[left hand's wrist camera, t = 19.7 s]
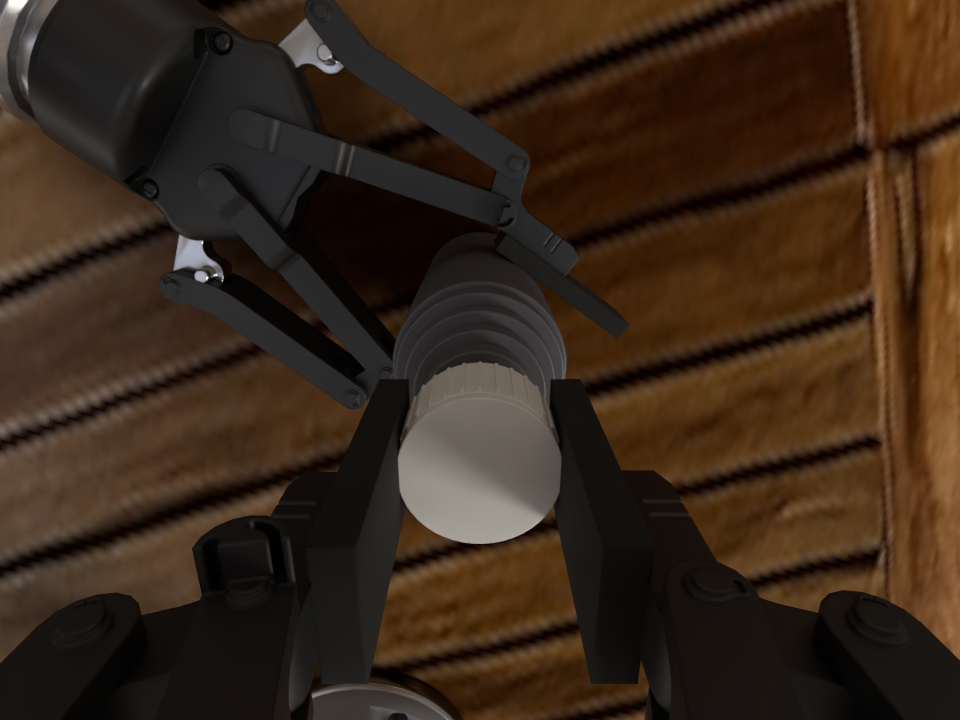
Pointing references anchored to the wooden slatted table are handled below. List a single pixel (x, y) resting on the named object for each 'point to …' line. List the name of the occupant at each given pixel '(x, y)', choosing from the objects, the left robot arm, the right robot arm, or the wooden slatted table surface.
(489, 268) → the bottle
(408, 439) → the cap
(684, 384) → the wooden slatted table surface
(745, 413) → the wooden slatted table surface
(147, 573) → the wooden slatted table surface
